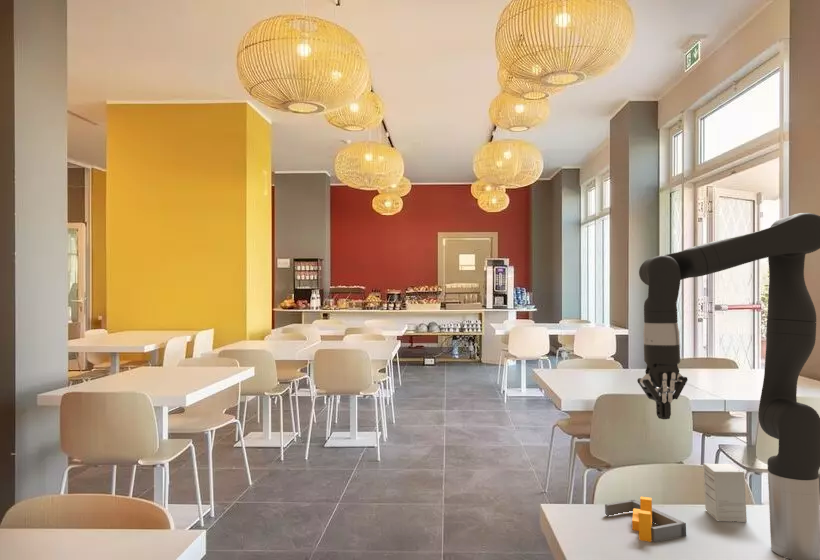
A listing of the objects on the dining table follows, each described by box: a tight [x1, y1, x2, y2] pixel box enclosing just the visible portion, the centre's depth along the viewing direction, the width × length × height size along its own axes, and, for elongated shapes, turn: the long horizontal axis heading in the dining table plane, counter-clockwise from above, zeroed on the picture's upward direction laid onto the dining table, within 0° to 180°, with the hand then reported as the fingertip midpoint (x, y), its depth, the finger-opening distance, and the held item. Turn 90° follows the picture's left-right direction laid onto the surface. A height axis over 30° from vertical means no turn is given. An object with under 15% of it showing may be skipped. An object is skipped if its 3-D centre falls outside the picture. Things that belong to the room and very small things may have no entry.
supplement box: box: [703, 462, 748, 523], centre depth 140 cm, size 7×7×13 cm
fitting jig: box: [604, 499, 687, 543], centre depth 135 cm, size 10×17×3 cm, turn 20°
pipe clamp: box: [631, 496, 653, 543], centre depth 132 cm, size 12×4×6 cm, turn 155°
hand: (663, 418), depth 124 cm, fingers closed
